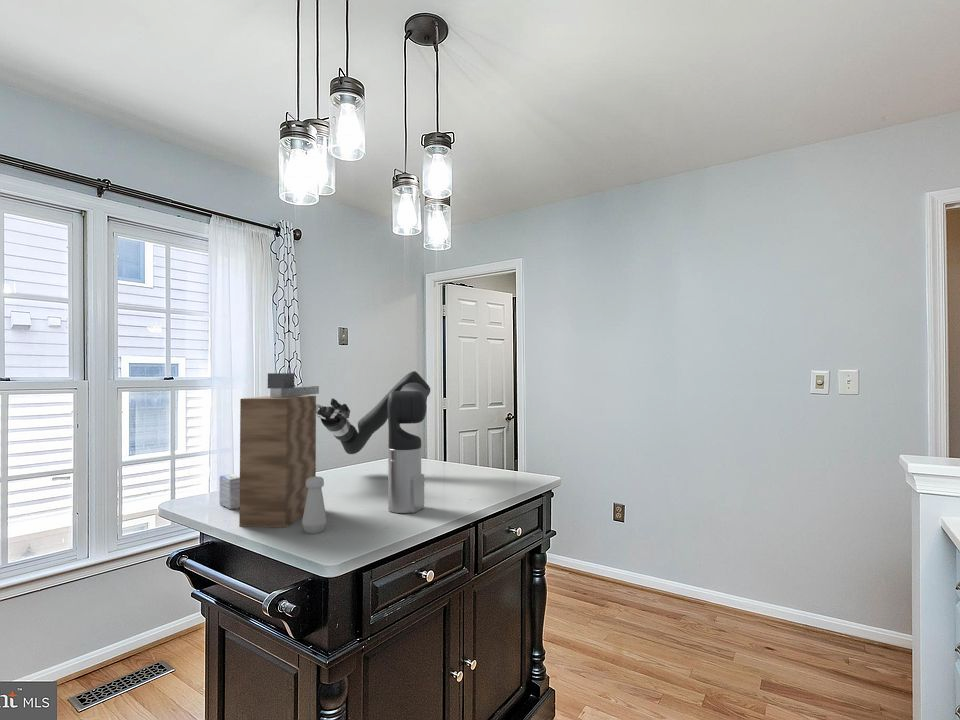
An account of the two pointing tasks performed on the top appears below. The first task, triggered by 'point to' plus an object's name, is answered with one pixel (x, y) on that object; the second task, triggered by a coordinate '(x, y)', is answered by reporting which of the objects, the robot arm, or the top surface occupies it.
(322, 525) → the salt shaker
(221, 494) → the medicine box
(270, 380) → the gray stepped bar
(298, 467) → the stand
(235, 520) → the top surface
